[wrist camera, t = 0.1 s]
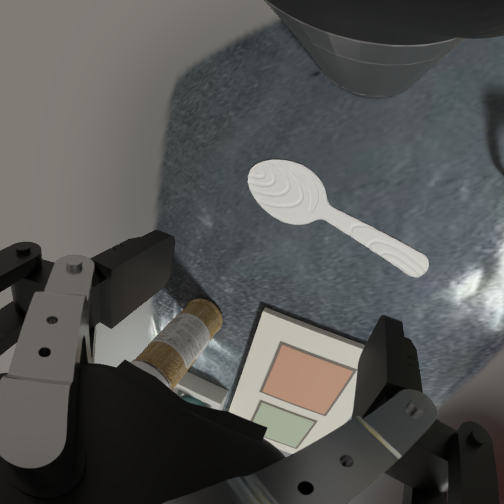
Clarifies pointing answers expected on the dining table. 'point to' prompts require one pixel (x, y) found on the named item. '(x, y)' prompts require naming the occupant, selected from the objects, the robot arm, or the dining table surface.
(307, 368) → the picture board
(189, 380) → the button housing
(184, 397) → the button
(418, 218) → the dining table surface
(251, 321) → the dining table surface
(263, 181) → the spoon
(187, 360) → the sprinkles bottle
